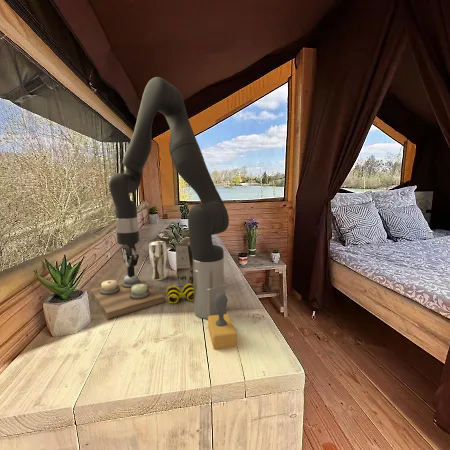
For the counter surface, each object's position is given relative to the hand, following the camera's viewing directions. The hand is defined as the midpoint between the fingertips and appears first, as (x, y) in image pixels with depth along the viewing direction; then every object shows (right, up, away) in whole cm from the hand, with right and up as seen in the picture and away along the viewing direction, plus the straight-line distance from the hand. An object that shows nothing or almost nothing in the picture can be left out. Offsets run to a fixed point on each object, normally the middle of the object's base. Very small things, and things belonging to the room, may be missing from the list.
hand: (131, 275), depth 100 cm
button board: (+1, -6, -6) cm, 9 cm away
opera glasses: (+20, -7, -8) cm, 23 cm away
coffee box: (+20, -4, +7) cm, 22 cm away
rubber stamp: (+34, -10, -30) cm, 46 cm away
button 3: (0, -2, 0) cm, 2 cm away
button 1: (-6, -3, -5) cm, 8 cm away
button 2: (+6, -4, -9) cm, 11 cm away
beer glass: (+7, -3, +12) cm, 15 cm away
